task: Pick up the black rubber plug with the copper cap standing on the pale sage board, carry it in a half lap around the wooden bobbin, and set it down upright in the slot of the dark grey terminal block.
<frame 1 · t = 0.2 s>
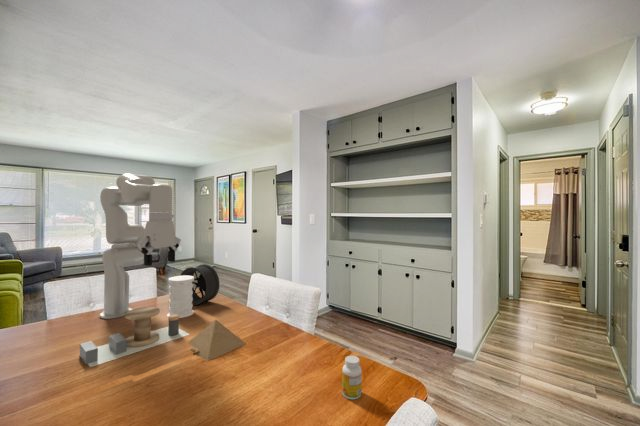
hand: (160, 263, 105), 30 cm above the table, tool pointing down, fingers open, 9 cm apart
supplement bottle: (351, 394, 79), on the table
model pyramid: (214, 347, 105), on the table
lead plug: (173, 334, 111), point 1 cm above the table, touching base board
bobbin: (142, 340, 105), resting on base board
decorative container: (180, 316, 133), on the table
base board: (138, 345, 103), on the table
terminal block: (103, 353, 95), resting on base board
wheel rim: (198, 303, 152), on the table
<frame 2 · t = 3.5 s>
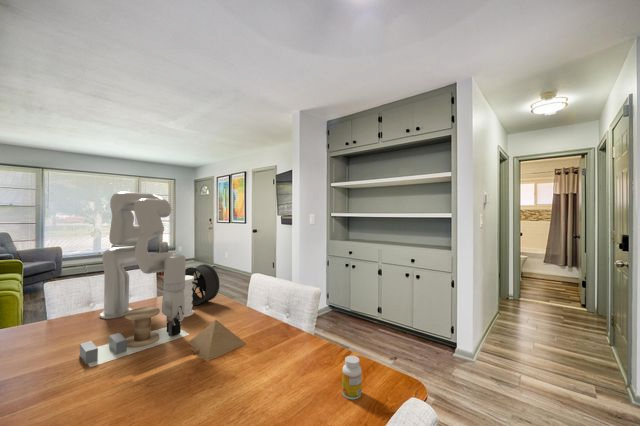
hand: (173, 332, 111), 2 cm above the table, tool pointing down, fingers closed on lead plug, 3 cm apart
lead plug: (173, 334, 111), point 1 cm above the table, touching base board, gripper
everything else where it was.
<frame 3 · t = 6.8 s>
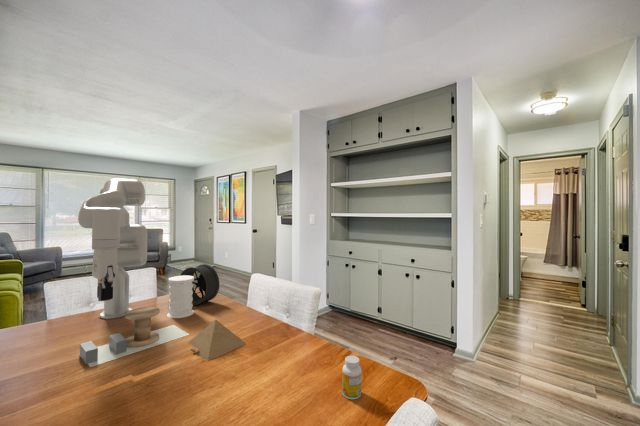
hand: (105, 297, 96), 20 cm above the table, tool pointing down, fingers closed on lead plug, 3 cm apart
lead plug: (105, 299, 96), point 19 cm above the table, touching gripper
everything else where it was.
when the fingers open (3 cm above the table, at t = 10.3 s): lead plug stays where it is, resting on base board.
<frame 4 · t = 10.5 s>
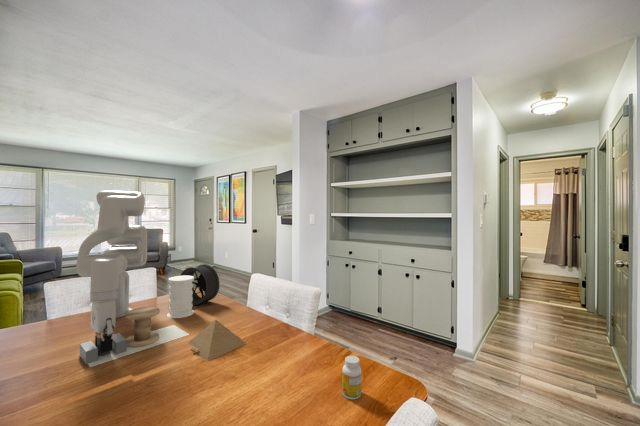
hand: (103, 348, 95), 3 cm above the table, tool pointing down, fingers open, 5 cm apart
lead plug: (103, 353, 95), point 1 cm above the table, touching base board
everything else where it was.
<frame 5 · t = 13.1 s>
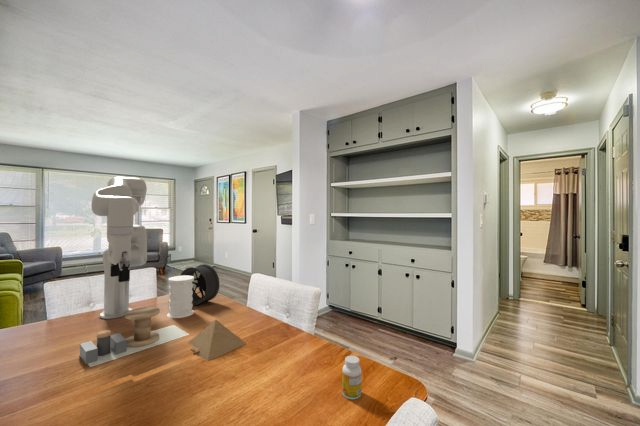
hand: (119, 278, 101), 25 cm above the table, tool pointing down, fingers open, 9 cm apart
nothing on the table moved.
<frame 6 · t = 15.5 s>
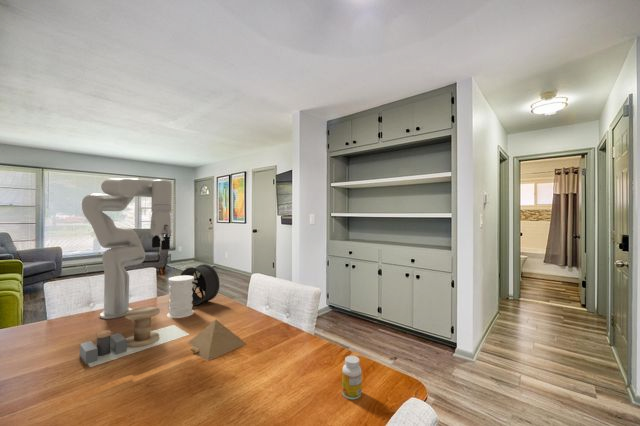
hand: (160, 248, 122), 33 cm above the table, tool pointing down, fingers open, 9 cm apart
nothing on the table moved.
at the end: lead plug inside the target area (0.1 cm from its centre), point 1.2 cm above the table; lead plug tilted 0°; the gripper is holding nothing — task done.
